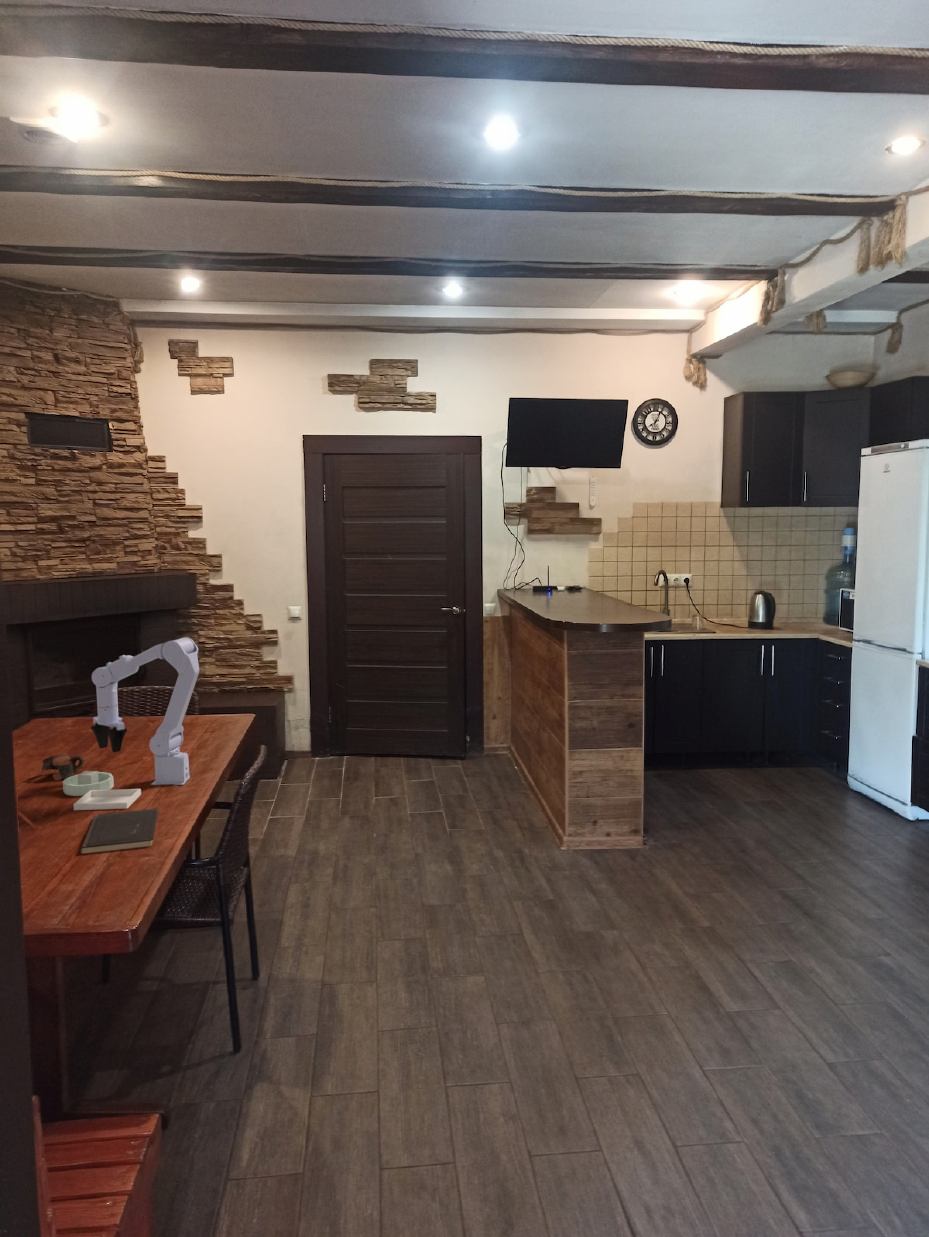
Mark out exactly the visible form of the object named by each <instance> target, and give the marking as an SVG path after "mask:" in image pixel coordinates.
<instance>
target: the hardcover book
mask: <svg viewBox="0 0 929 1237" xmlns="http://www.w3.org/2000/svg"><path fill="white" fill-rule="evenodd" d="M159 811H160V808H159V807H158V808H148V809H139V810H128V811H120V812H119V811H118V812H110V813H109V812H108V813H100V814H99V813H98V814H95V815H94V816H93V818H92V821H91V822H90V825H89V828H88V831H87V833H86V835H85V838H84V840H83V842H82V845H81V847H80V850H79V852H80V855H82V854H92V853H99V852H107V851H110V852H111V851H118V850H126V849H127V850H128V849H136V848H146V847H152V845H153V841H154V838H155V832H156V827H157V821H158V817H159Z"/></svg>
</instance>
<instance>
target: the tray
mask: <svg viewBox="0 0 929 1237" xmlns="http://www.w3.org/2000/svg"><path fill="white" fill-rule="evenodd" d="M141 795H142V789H141V788H130V789H129V788H127V789H126V788H124V789H119V788H118V789H110V790H90V791H89V792H88V793H86V794H85V795H84V796H81V797H80V798H79V799H78V800H77V801H75V802H74V803H73V811H92V810H97V811H98V810H122V809H123V810H125V809H129V807H130V806H131V805H132V804H133V803H134V802H136V800H138V799H139V798H140V796H141Z"/></svg>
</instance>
